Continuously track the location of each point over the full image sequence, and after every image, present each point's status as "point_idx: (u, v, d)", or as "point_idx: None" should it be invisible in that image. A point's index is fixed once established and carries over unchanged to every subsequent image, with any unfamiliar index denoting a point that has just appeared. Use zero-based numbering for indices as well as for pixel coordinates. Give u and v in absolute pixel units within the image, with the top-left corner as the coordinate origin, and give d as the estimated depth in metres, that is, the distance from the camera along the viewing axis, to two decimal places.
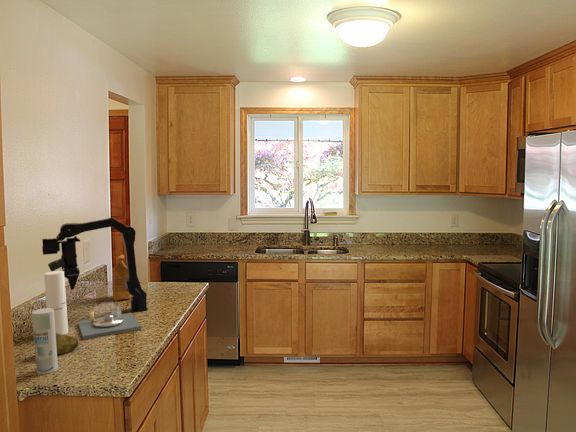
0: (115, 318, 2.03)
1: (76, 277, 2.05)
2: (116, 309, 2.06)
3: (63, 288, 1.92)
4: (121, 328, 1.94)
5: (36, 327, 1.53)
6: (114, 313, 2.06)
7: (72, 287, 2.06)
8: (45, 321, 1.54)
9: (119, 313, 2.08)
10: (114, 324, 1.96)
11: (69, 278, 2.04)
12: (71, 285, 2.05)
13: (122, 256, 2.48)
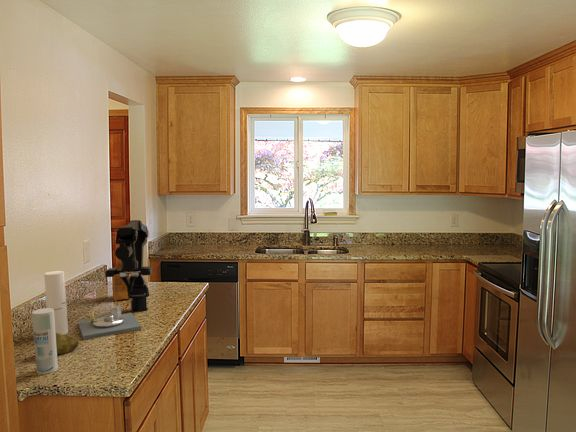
0: (115, 318, 2.03)
1: None
2: (116, 309, 2.06)
3: (63, 288, 1.92)
4: (121, 328, 1.94)
5: (36, 327, 1.53)
6: (114, 313, 2.06)
7: None
8: (45, 321, 1.54)
9: (119, 313, 2.08)
10: (114, 324, 1.96)
11: None
12: None
13: None
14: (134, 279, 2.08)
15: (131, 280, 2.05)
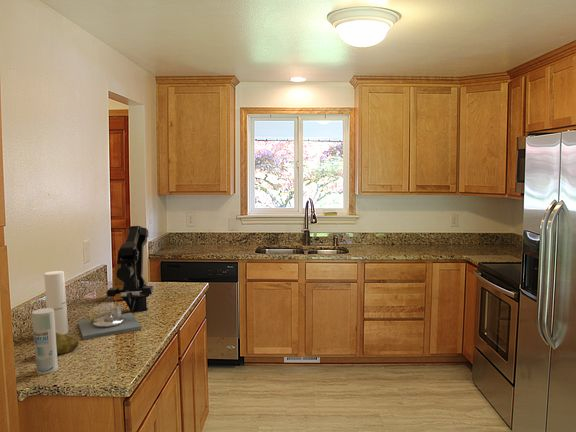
0: (115, 318, 2.03)
1: None
2: (116, 309, 2.06)
3: (63, 288, 1.92)
4: (121, 328, 1.94)
5: (36, 327, 1.53)
6: (114, 313, 2.06)
7: None
8: (45, 321, 1.54)
9: (119, 313, 2.08)
10: (114, 324, 1.96)
11: None
12: None
13: None
14: (135, 298, 2.09)
15: (132, 300, 2.06)
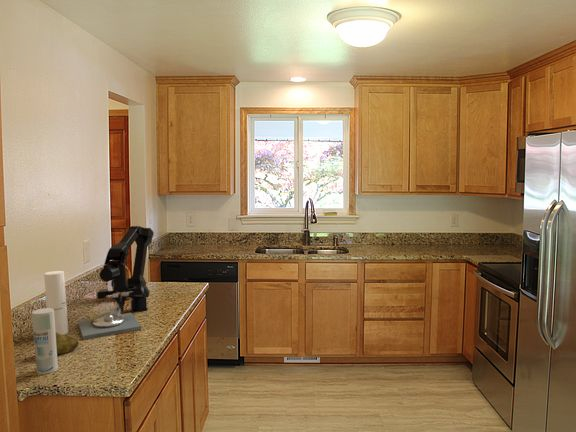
0: (115, 318, 2.03)
1: None
2: (115, 309, 2.06)
3: (63, 288, 1.92)
4: (121, 328, 1.94)
5: (36, 327, 1.53)
6: (113, 313, 2.06)
7: None
8: (45, 321, 1.54)
9: (118, 313, 2.08)
10: (115, 324, 1.96)
11: None
12: None
13: None
14: (125, 299, 2.09)
15: (123, 300, 2.06)
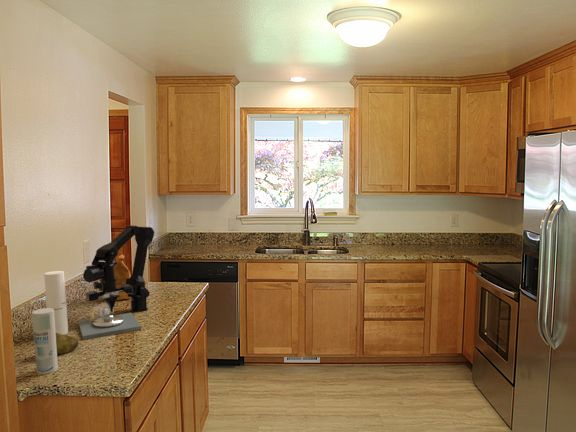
0: None
1: (107, 301, 2.06)
2: (108, 309, 2.06)
3: (63, 288, 1.92)
4: (121, 328, 1.94)
5: (36, 327, 1.53)
6: (106, 314, 2.05)
7: (110, 309, 2.08)
8: (45, 321, 1.54)
9: None
10: (121, 322, 1.99)
11: (106, 300, 2.08)
12: (109, 307, 2.09)
13: (122, 256, 2.48)
14: None
15: (114, 300, 2.07)
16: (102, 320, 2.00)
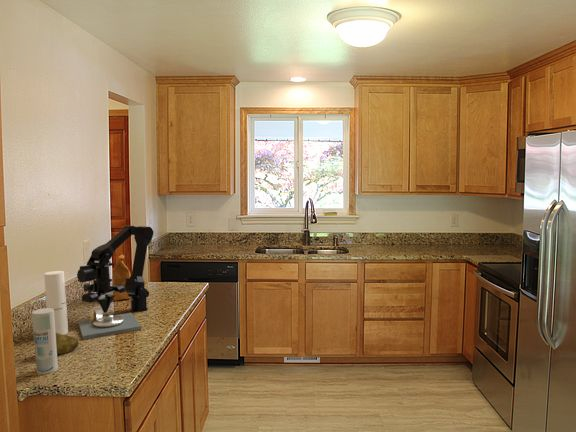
0: None
1: (103, 301, 2.06)
2: (101, 311, 2.04)
3: (63, 288, 1.92)
4: (121, 328, 1.94)
5: (36, 327, 1.53)
6: (99, 315, 2.04)
7: (104, 310, 2.08)
8: (45, 321, 1.54)
9: None
10: (123, 320, 2.02)
11: (99, 301, 2.07)
12: (102, 308, 2.08)
13: (122, 256, 2.48)
14: None
15: (110, 300, 2.08)
16: (102, 321, 1.99)
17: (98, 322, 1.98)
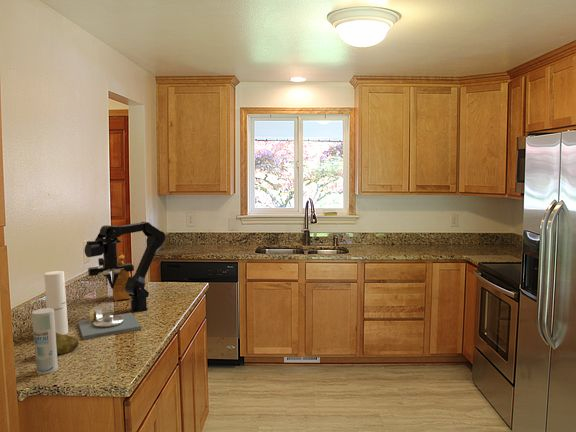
0: None
1: (107, 277, 2.10)
2: (101, 311, 2.04)
3: (63, 288, 1.92)
4: (121, 328, 1.94)
5: (36, 327, 1.53)
6: (99, 315, 2.04)
7: None
8: (45, 321, 1.54)
9: None
10: (123, 320, 2.02)
11: (107, 276, 2.13)
12: None
13: (122, 256, 2.48)
14: None
15: (115, 277, 2.11)
16: (102, 321, 1.99)
17: (98, 322, 1.98)
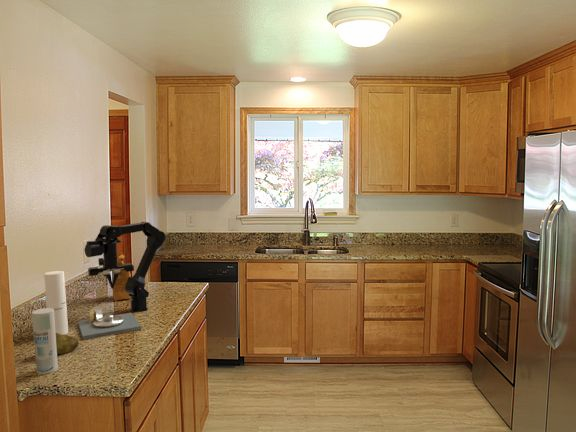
0: None
1: (107, 277, 2.10)
2: (101, 311, 2.04)
3: (63, 288, 1.92)
4: (121, 328, 1.94)
5: (36, 327, 1.53)
6: (99, 315, 2.04)
7: None
8: (45, 321, 1.54)
9: None
10: (123, 320, 2.02)
11: None
12: None
13: (122, 256, 2.48)
14: None
15: (115, 277, 2.12)
16: (102, 321, 1.99)
17: (98, 322, 1.98)
